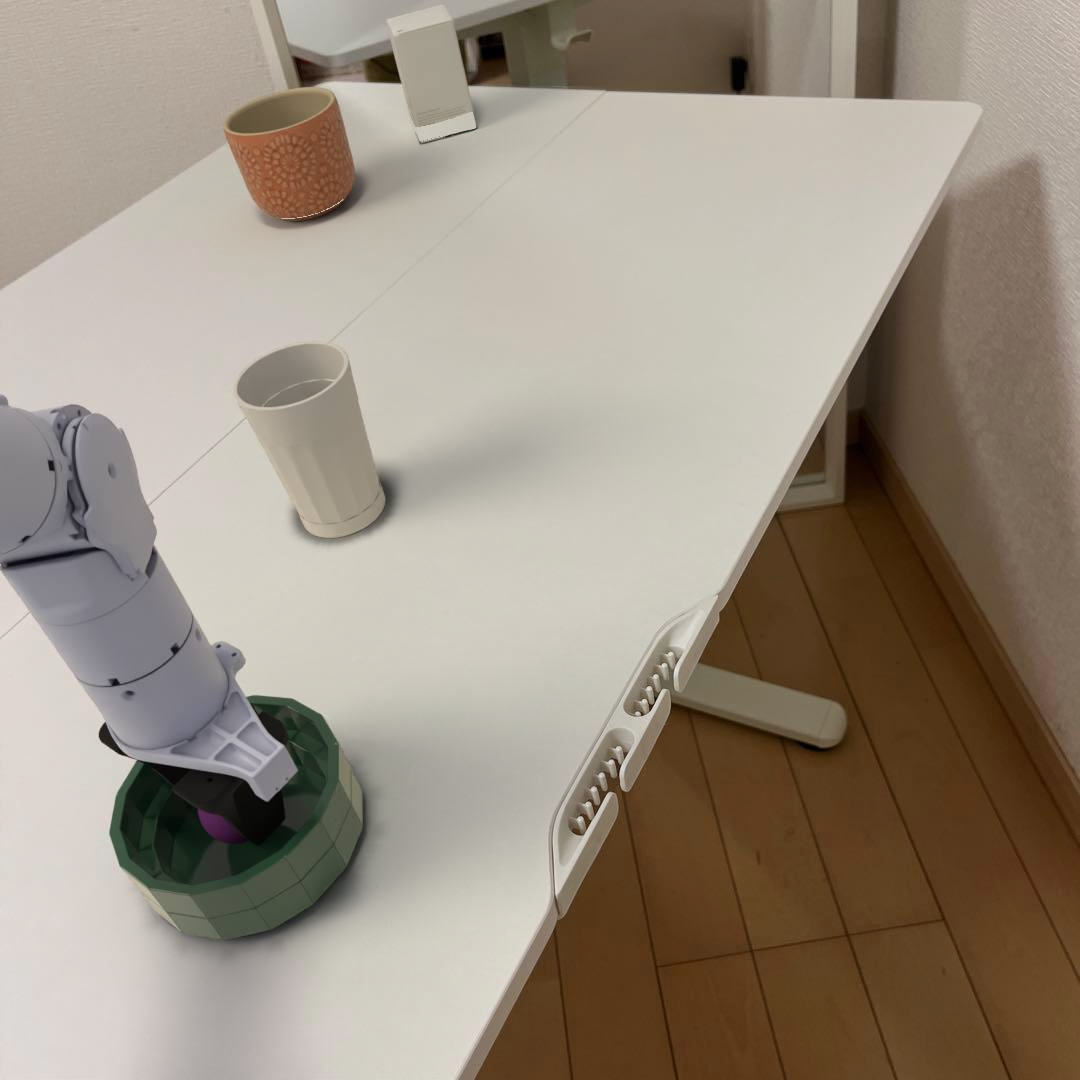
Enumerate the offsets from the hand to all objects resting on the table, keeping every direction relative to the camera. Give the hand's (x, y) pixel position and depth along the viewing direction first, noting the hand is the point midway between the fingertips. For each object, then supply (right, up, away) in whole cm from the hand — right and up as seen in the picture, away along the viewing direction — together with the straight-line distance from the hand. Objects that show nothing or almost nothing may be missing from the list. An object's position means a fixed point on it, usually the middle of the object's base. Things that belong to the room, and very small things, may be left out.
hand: (239, 810), depth 59 cm
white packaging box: (+5, +64, +75) cm, 99 cm away
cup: (+2, +17, +23) cm, 28 cm away
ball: (0, 0, 0) cm, 0 cm away
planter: (-9, +52, +65) cm, 84 cm away
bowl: (+1, -2, +2) cm, 3 cm away
